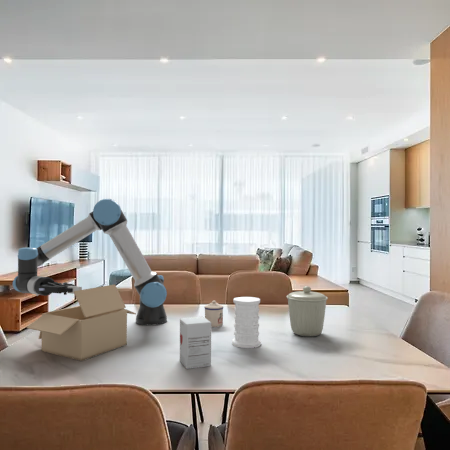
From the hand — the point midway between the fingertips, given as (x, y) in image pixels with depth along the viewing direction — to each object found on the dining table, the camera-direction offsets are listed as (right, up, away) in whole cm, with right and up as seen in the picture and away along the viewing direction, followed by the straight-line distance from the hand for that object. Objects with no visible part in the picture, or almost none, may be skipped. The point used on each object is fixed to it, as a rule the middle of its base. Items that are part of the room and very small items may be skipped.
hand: (80, 290), depth 148 cm
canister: (+93, -23, +22) cm, 98 cm away
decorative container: (+65, -23, +6) cm, 69 cm away
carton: (0, -22, +1) cm, 22 cm away
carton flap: (+12, -7, -6) cm, 16 cm away
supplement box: (+46, -22, -16) cm, 54 cm away
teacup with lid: (+51, -23, +37) cm, 67 cm away
